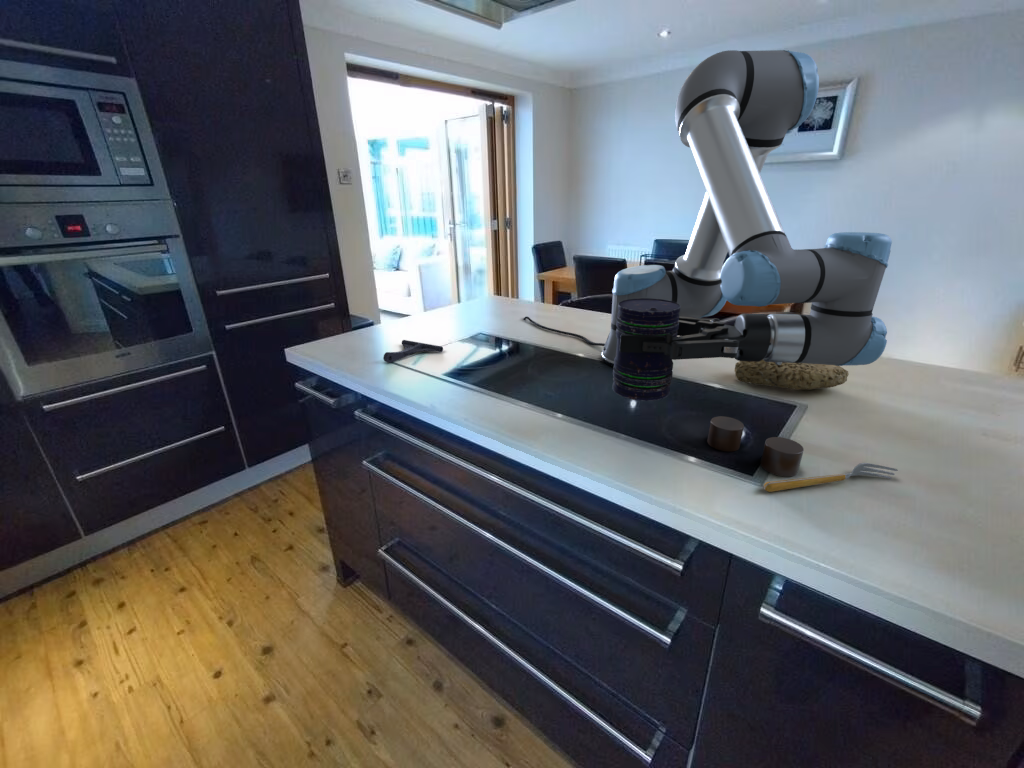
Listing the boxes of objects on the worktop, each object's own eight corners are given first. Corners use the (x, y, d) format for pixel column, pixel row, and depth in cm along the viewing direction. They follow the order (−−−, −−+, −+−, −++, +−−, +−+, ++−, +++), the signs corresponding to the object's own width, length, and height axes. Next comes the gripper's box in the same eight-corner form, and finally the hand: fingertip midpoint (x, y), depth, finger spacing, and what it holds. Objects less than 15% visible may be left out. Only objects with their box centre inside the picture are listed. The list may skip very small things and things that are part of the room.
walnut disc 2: (754, 466, 68) (759, 443, 67) (770, 455, 71) (775, 433, 69) (788, 481, 64) (794, 457, 63) (803, 469, 67) (809, 446, 65)
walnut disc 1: (701, 442, 75) (704, 421, 73) (717, 433, 78) (721, 413, 76) (729, 455, 71) (733, 433, 70) (745, 445, 74) (749, 424, 72)
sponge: (732, 391, 97) (845, 395, 84) (732, 356, 96) (846, 354, 83) (746, 383, 107) (849, 385, 94) (745, 351, 106) (850, 349, 93)
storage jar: (607, 378, 81) (612, 298, 76) (661, 378, 81) (670, 297, 75) (617, 401, 72) (624, 312, 66) (677, 401, 72) (690, 311, 66)
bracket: (366, 359, 119) (365, 349, 118) (405, 344, 130) (404, 335, 129) (406, 368, 112) (404, 358, 111) (443, 351, 123) (442, 342, 122)
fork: (772, 487, 60) (899, 468, 63) (764, 477, 62) (888, 459, 64) (766, 499, 62) (890, 480, 64) (758, 489, 63) (880, 470, 66)
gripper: (784, 387, 61) (619, 379, 65) (740, 339, 81) (616, 335, 85) (797, 335, 58) (623, 330, 62) (747, 299, 78) (619, 297, 82)
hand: (619, 333), depth 74 cm, fingers closed on storage jar, 10 cm apart
